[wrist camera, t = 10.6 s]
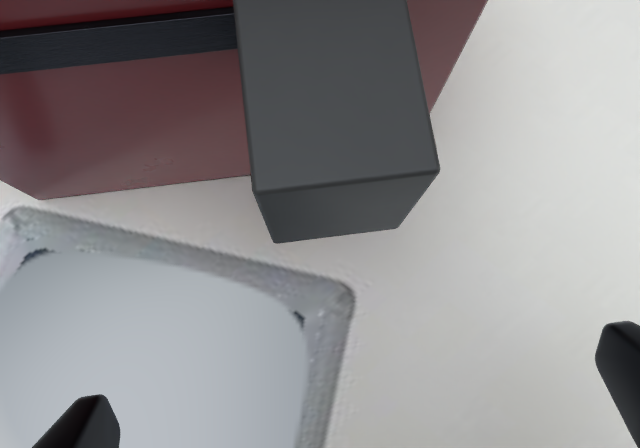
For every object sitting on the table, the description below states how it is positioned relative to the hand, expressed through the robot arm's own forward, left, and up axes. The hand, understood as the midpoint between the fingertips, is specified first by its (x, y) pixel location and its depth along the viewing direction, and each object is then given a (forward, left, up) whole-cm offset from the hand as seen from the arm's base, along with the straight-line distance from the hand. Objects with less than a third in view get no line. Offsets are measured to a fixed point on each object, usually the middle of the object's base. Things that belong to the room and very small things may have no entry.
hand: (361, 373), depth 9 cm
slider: (+5, +1, -2) cm, 5 cm away
